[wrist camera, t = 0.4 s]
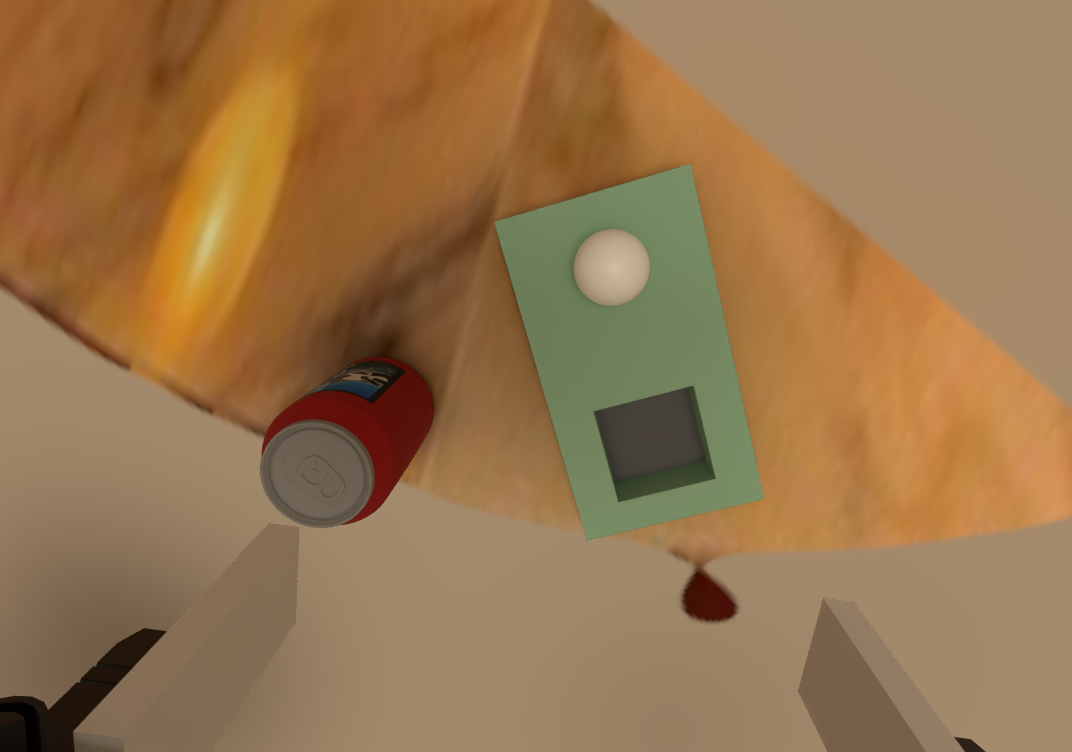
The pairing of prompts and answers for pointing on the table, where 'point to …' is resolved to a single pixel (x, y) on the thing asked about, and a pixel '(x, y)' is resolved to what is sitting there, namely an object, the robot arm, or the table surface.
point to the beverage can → (346, 443)
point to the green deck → (635, 359)
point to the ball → (611, 267)
